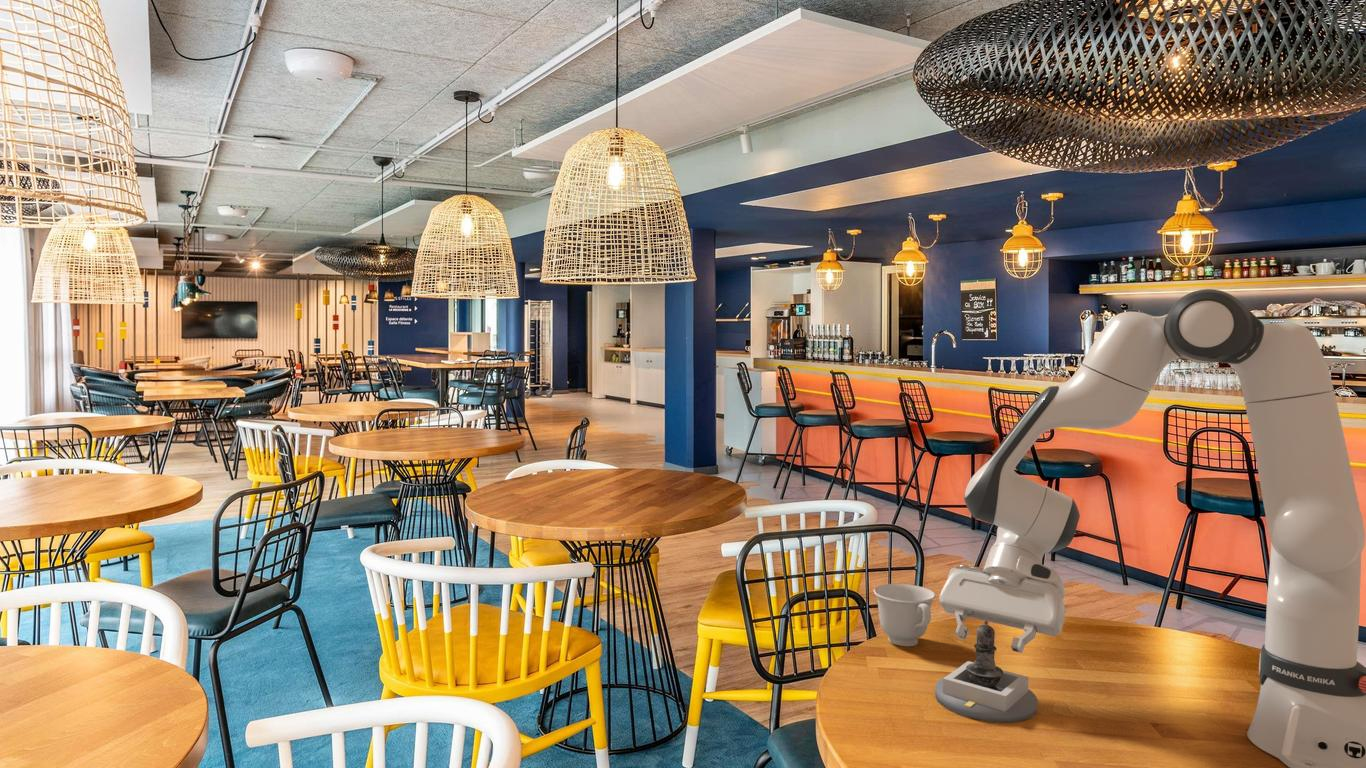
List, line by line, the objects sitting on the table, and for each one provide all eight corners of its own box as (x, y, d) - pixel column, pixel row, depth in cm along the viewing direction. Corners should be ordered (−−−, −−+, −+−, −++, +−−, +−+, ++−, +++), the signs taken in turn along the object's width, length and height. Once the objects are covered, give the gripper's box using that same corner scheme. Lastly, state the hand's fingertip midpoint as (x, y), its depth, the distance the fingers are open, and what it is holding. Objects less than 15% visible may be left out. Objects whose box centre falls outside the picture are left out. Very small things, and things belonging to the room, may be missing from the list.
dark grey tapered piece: (997, 684, 146) (999, 615, 145) (1006, 698, 140) (1009, 626, 139) (962, 682, 147) (964, 613, 146) (969, 696, 141) (972, 625, 140)
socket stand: (1050, 699, 143) (1051, 676, 143) (1016, 732, 131) (1017, 707, 131) (958, 674, 154) (959, 652, 154) (919, 702, 142) (919, 678, 142)
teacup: (898, 660, 160) (900, 608, 160) (861, 633, 175) (862, 585, 174) (955, 654, 163) (956, 603, 163) (914, 629, 178) (915, 581, 177)
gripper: (948, 553, 154) (923, 619, 147) (1067, 574, 141) (1046, 648, 134) (958, 572, 157) (933, 638, 151) (1075, 595, 144) (1054, 668, 137)
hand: (987, 643), depth 142 cm, fingers open, 8 cm apart
